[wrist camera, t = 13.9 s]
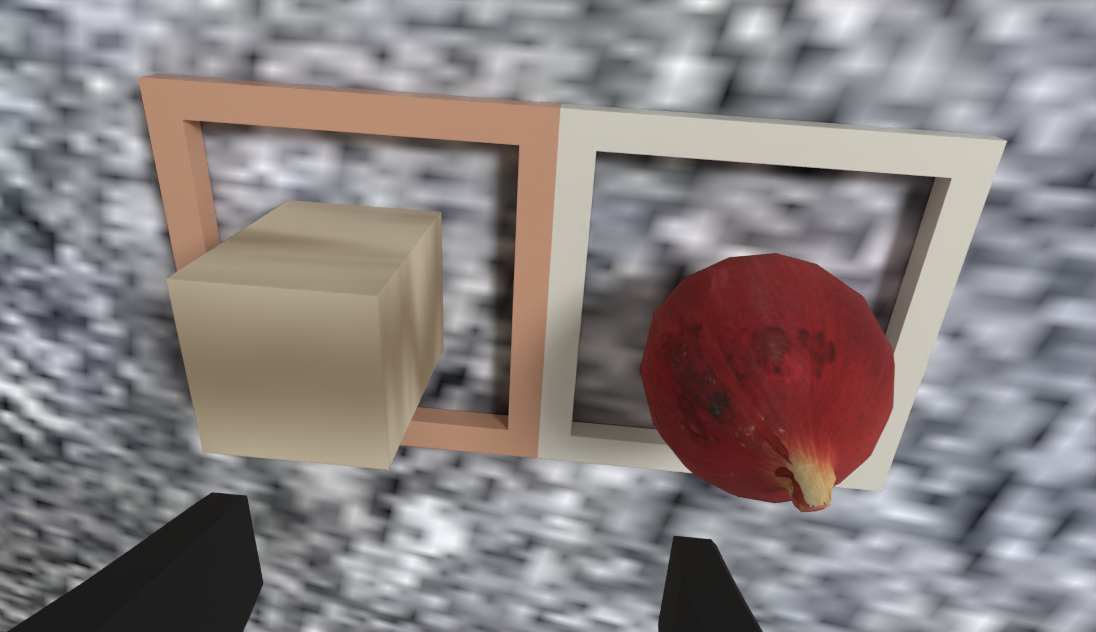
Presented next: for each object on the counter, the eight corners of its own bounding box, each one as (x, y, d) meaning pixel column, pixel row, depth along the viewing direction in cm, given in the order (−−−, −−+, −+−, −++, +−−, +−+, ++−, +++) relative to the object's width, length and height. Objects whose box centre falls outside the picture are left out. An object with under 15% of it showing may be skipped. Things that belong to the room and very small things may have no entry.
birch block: (443, 348, 21) (388, 469, 16) (305, 336, 21) (203, 452, 16) (441, 211, 19) (377, 296, 14) (288, 200, 19) (166, 278, 14)
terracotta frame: (539, 443, 22) (537, 458, 22) (220, 413, 23) (208, 426, 22) (562, 103, 17) (560, 107, 17) (156, 74, 18) (137, 77, 17)
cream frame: (872, 475, 22) (881, 491, 21) (539, 443, 22) (537, 458, 22) (989, 134, 17) (1006, 140, 16) (562, 103, 17) (560, 107, 17)
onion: (598, 330, 20) (594, 513, 13) (719, 175, 18) (797, 294, 11) (746, 422, 21) (819, 640, 14) (880, 287, 19) (1048, 465, 12)
